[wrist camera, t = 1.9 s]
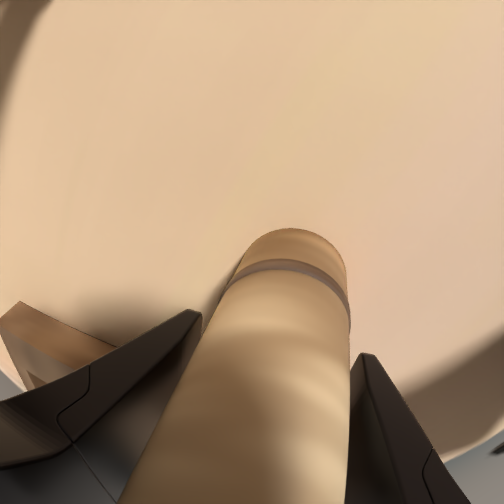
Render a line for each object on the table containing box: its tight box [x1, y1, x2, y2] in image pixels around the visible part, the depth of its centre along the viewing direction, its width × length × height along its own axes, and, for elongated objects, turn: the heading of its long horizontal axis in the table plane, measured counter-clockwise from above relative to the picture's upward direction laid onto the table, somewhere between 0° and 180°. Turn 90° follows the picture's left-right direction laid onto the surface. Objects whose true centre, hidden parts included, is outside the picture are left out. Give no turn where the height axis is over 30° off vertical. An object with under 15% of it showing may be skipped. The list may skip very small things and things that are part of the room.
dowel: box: [116, 228, 351, 504], centre depth 7 cm, size 4×4×10 cm
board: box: [0, 301, 117, 391], centre depth 17 cm, size 16×12×2 cm
